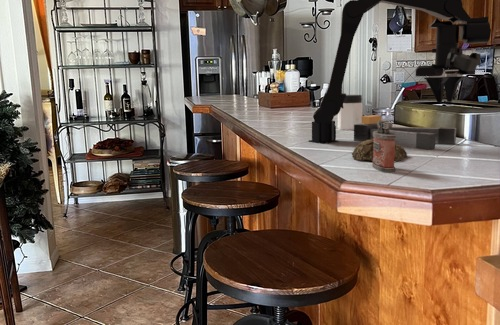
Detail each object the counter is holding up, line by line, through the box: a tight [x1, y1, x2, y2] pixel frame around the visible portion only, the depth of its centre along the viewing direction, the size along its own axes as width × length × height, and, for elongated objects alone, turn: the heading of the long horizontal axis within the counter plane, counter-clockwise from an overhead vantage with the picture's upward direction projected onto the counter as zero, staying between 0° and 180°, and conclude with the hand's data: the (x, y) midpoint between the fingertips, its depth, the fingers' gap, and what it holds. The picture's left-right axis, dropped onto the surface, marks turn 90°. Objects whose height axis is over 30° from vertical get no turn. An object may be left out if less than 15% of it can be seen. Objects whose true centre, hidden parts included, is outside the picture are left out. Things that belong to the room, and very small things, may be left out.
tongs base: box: [353, 123, 436, 151], centre depth 132 cm, size 9×25×5 cm, turn 33°
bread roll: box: [351, 139, 408, 162], centre depth 113 cm, size 13×12×5 cm
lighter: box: [371, 120, 396, 174], centre depth 100 cm, size 8×3×10 cm, turn 5°
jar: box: [337, 94, 363, 131], centre depth 172 cm, size 9×8×12 cm
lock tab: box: [361, 114, 382, 124], centre depth 140 cm, size 5×3×2 cm, turn 123°
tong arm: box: [389, 126, 457, 146], centre depth 134 cm, size 2×19×4 cm, turn 58°
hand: (444, 102), depth 134 cm, fingers open, 4 cm apart
